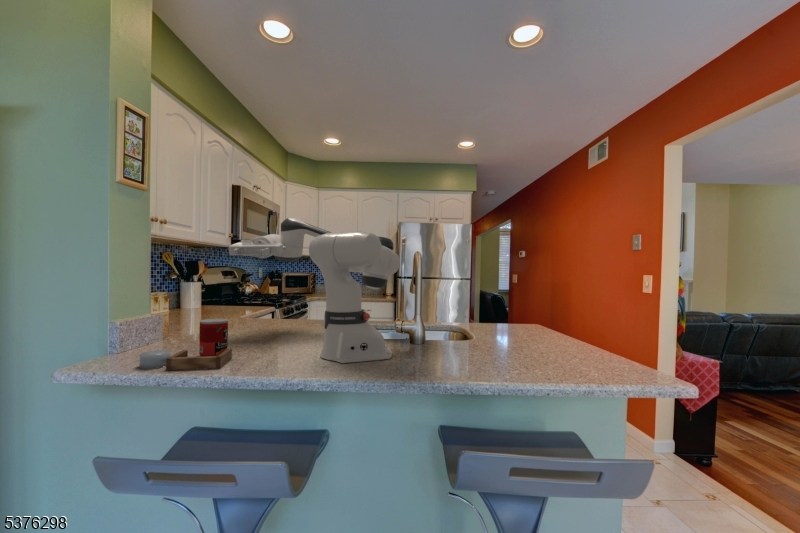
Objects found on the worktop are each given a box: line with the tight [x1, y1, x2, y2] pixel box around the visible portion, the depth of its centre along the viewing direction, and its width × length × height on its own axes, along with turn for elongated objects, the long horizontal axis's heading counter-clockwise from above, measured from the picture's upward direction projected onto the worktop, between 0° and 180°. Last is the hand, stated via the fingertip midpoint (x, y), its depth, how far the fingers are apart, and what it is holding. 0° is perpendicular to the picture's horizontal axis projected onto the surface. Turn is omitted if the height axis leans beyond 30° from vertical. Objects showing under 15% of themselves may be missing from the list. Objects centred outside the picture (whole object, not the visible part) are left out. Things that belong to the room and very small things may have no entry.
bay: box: [165, 348, 233, 371], centre depth 98 cm, size 13×10×3 cm
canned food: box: [198, 318, 229, 357], centre depth 108 cm, size 8×8×11 cm
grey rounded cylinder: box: [139, 349, 171, 370], centre depth 96 cm, size 7×7×4 cm
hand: (247, 252), depth 127 cm, fingers open, 8 cm apart
